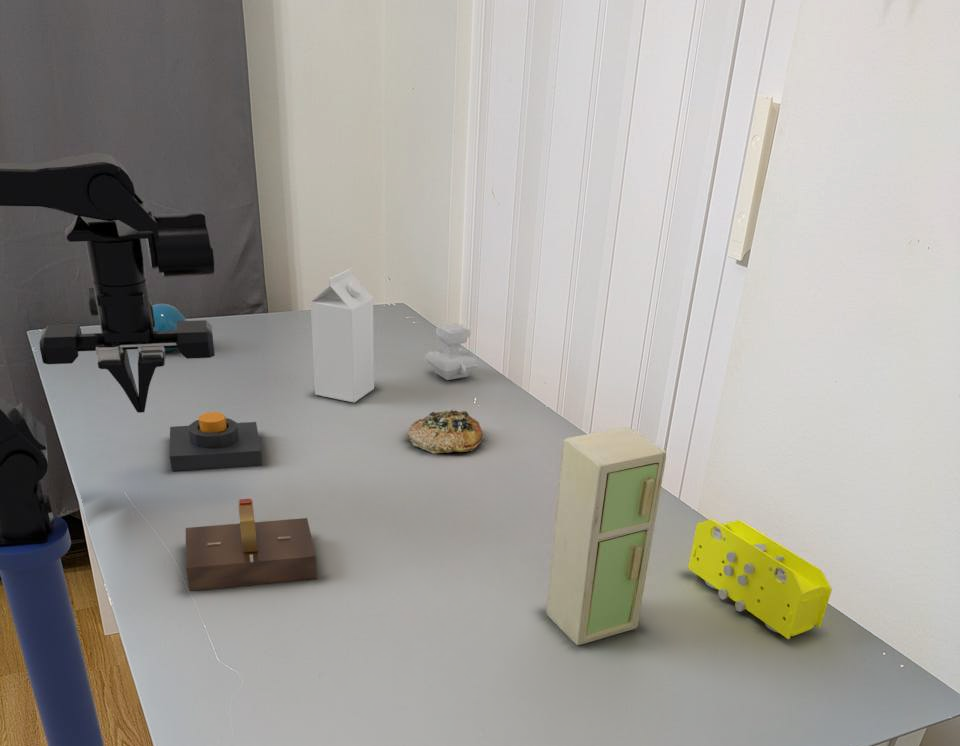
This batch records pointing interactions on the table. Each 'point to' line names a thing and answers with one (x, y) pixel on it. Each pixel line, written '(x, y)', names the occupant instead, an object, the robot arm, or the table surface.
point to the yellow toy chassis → (760, 576)
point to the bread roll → (446, 432)
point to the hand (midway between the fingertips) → (141, 411)
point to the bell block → (214, 446)
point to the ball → (166, 318)
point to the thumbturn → (247, 525)
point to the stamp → (452, 353)
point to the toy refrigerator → (603, 532)
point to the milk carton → (343, 339)
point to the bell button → (212, 422)
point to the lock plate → (249, 555)
